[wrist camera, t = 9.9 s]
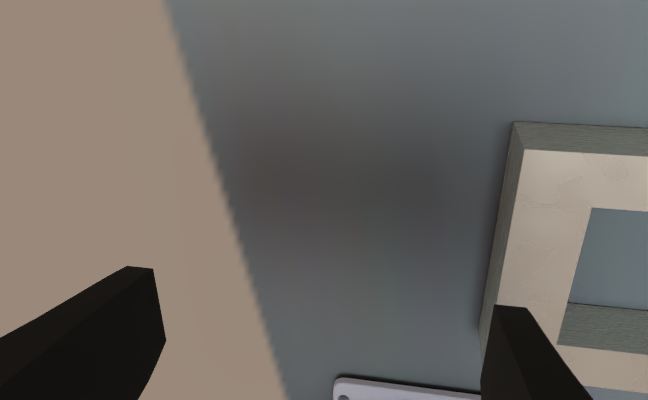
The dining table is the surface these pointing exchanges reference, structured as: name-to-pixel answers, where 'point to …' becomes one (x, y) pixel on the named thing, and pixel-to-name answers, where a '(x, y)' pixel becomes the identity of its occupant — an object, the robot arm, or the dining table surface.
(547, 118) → the dining table surface
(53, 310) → the robot arm
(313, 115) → the dining table surface
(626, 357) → the rail
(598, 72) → the dining table surface
